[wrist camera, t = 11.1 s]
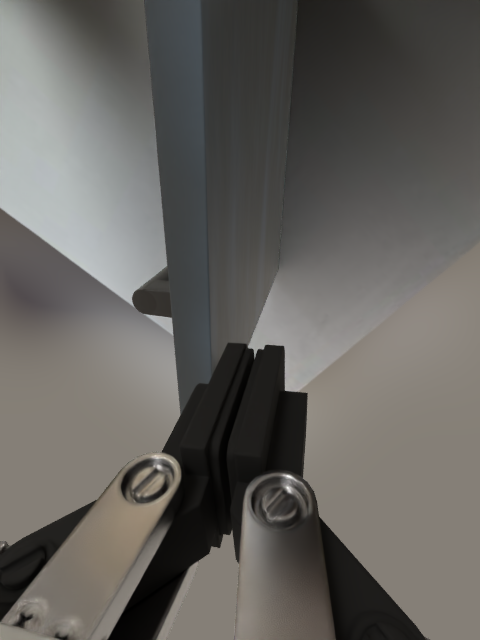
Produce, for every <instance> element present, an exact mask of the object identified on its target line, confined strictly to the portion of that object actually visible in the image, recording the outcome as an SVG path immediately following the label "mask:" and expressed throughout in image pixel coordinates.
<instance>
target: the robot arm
mask: <svg viewBox="0 0 480 640" xmlns="http://www.w3.org/2000/svg"><path fill="white" fill-rule="evenodd" d="M306 420H307V393H301V392H290V391H285V350H284V346H275V345H265V347H264V350H262V349H258V351H257V354H256V357H255V360H254V350H253V349H248V347H247V344H244V343H228V344H227V345H226V347H225V350H224V352H223V354H222V356H221V358H220V360H219V362H218V364H217V366H216V369H215V371H214V373H213V375H212V377H211V379H210V381H209V383H208V384H204V383H199V384H197V385H196V387H195V388H194V390H193V392H192V394H191V396H190V398H189V400H188V402H187V404H186V406H185V408H184V410H183V412H182V414H181V416H180V417H179V420H178V421H177V423H176V425H175V427H174V429H173V431H172V433H171V435H170V437H169V439H168V441H167V443H166V445H165V446H164V448H163V450H162V452H153V453H146V454H143V455H141V456H138V457H137V458H135V459H133V460H132V461H130V462H128V463H127V464H126V465H125V466H124V467H123V468H122V469H121V471H120V472H119V473H118V474H117V475H116V477H115V478H114V479H113V481H112V482H111V483H110V484H109V486H108V487H107V488H106V489H105V491H104V492H103V493H102V495H101V496H100V497H99V498H98V499H97V500H95V501H94V502H92V503H90V504H88V505H86V506H84V507H82V508H80V509H78V510H76V511H74V512H72V513H70V514H68V515H66V516H65V517H63V518H61V519H59V520H57V521H55V522H53V523H51V524H49V525H47V526H45V527H43V528H41V529H40V530H38V531H36V532H34V533H32V534H30V535H28V536H26V537H24V538H22V539H21V540H19V541H18V542H16V543H15V544H13V545H12V546H9V545H8V544H7V542H6V541H0V640H167V637H168V635H169V633H170V631H171V628H172V626H173V624H174V621H175V619H176V617H177V614H178V612H179V610H180V608H181V606H182V603H183V601H184V599H185V596H186V594H187V592H188V589H189V587H190V585H191V583H192V580H193V578H194V576H195V573H196V570H197V567H198V564H199V560H200V559H202V558H203V557H205V556H206V555H208V554H209V552H210V549H211V546H213V547H218V548H220V546H221V542H222V538H223V534H226V535H230V534H231V531H232V530H233V538H234V547H235V555H236V560H237V562H238V563H239V575H238V588H237V604H236V605H237V606H236V619H235V635H234V640H430V639H427V638H426V637H424V636H423V635H422V634H421V632H420V631H419V629H418V628H417V626H416V625H415V624H414V623H413V622H412V621H411V620H410V619H409V617H408V616H407V615H406V614H405V613H404V612H403V611H402V610H401V609H400V607H399V606H398V605H397V604H396V603H395V602H394V601H393V599H392V598H391V597H390V596H389V595H388V594H387V593H386V591H385V590H384V589H383V588H382V587H381V586H380V585H379V584H378V583H377V581H376V580H375V579H374V578H373V577H372V576H371V575H370V573H369V572H368V571H367V570H366V569H365V568H364V567H363V566H362V564H361V563H360V562H359V561H358V560H357V559H356V558H355V557H354V555H353V554H352V553H351V552H350V551H349V550H348V549H347V548H346V546H345V545H344V544H343V543H342V542H341V541H340V540H339V538H338V537H337V536H336V535H335V534H334V533H333V532H332V531H331V529H330V528H329V527H328V526H327V525H326V524H325V523H324V522H323V520H322V519H321V518H320V517H319V514H318V506H317V500H316V497H315V494H314V491H313V490H312V488H311V487H310V485H309V484H308V482H307V481H305V480H304V479H303V468H304V453H305V438H306Z"/></svg>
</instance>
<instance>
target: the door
mask: <svg viewBox="0 0 480 640" xmlns="http://www.w3.org/2000/svg"><path fill="white" fill-rule="evenodd" d="M144 4H145V15H146V27H147V38H148V49H149V61H150V72H151V84H152V95H153V106H154V118H155V129H156V141H157V152H158V163H159V175H160V186H161V197H162V209H163V220H164V232H165V243H166V254H167V267H166V268H164V269H163V270H162V271H160V272H159V273H158V274H157V275H155V276H154V277H153V278H151V279H150V280H149V281H148V282H146V283H145V284H144V285H143V286H141V287H140V288H139V289H137V290H136V291H135V292H134V294H133V297H132V301H133V304H134V306H135V308H136V309H137V310H138V311H139V312H141V313H143V314H148V315H156V316H164V317H172V323H173V334H174V345H175V356H176V368H177V379H178V391H179V401H180V413H181V414H182V412H183V410H184V408H185V406H186V404H187V402H188V400H189V398H190V396H191V394H192V392H193V390H194V388H195V387H196V385H197V384H199V383H204V384H208V383H209V381H210V379H211V377H212V375H213V373H214V371H215V369H216V366H217V364H218V362H219V360H220V358H221V356H222V354H223V352H224V350H225V347H226V345H227V344H228V343H244V344H247V347H248V345H249V343H250V340H251V338H252V335H253V333H254V330H255V328H256V325H257V323H258V320H259V317H260V315H261V312H262V310H263V307H264V305H265V302H266V300H267V297H268V295H269V292H270V289H271V287H272V284H273V282H274V279H275V277H276V274H277V272H278V269H279V255H280V241H281V228H282V214H283V201H284V187H285V173H286V160H287V146H288V133H289V119H290V105H291V92H292V78H293V64H294V51H295V37H296V24H297V10H298V0H144Z"/></svg>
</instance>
